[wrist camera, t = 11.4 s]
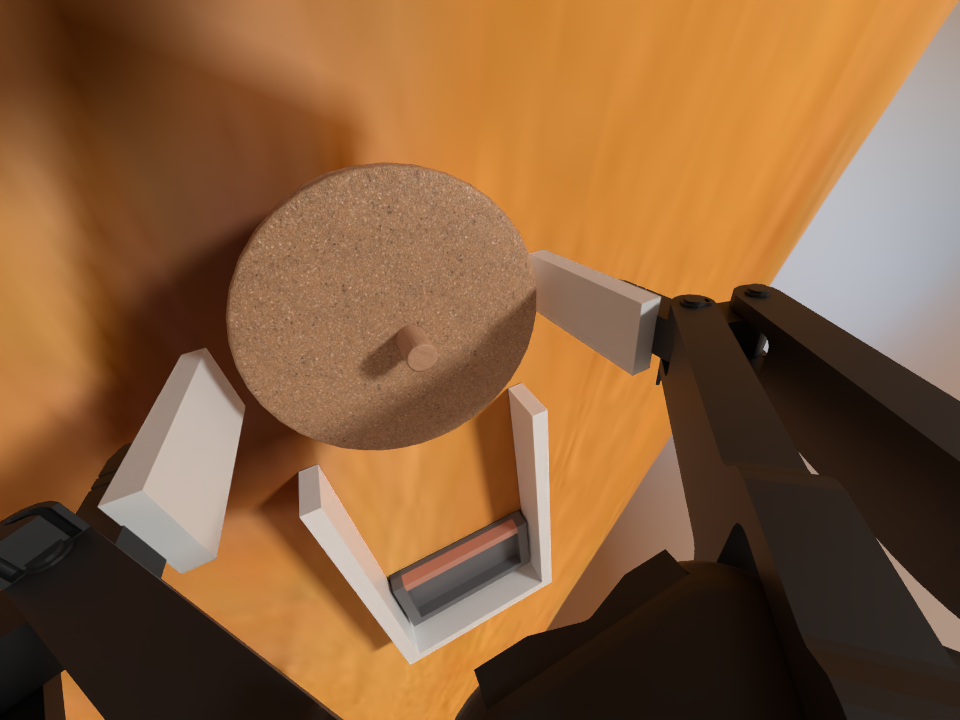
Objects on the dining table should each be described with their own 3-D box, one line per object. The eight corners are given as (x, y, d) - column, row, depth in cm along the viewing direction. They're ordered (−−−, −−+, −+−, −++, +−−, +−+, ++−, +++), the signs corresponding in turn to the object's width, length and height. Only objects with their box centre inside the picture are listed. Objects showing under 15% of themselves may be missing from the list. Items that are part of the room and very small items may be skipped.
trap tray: (389, 575, 32) (393, 592, 31) (518, 510, 36) (525, 522, 35) (410, 611, 37) (414, 626, 36) (522, 550, 40) (529, 562, 39)
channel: (298, 471, 23) (299, 517, 20) (522, 382, 27) (547, 409, 24) (401, 627, 38) (410, 664, 35) (534, 553, 42) (551, 581, 39)
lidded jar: (408, 383, 23) (462, 497, 16) (212, 317, 17) (150, 456, 9) (500, 236, 21) (613, 289, 13) (312, 93, 14) (333, 45, 7)
